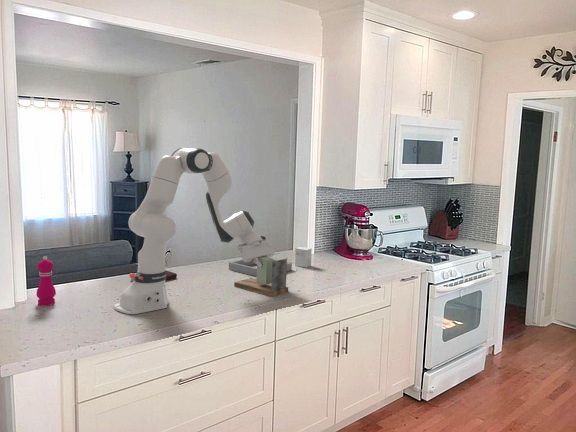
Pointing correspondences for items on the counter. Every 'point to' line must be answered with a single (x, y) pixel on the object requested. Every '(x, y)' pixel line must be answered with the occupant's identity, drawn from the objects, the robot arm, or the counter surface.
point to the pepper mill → (45, 283)
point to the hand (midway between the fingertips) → (265, 265)
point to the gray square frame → (246, 269)
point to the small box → (303, 257)
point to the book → (168, 276)
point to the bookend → (273, 288)
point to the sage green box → (264, 271)
